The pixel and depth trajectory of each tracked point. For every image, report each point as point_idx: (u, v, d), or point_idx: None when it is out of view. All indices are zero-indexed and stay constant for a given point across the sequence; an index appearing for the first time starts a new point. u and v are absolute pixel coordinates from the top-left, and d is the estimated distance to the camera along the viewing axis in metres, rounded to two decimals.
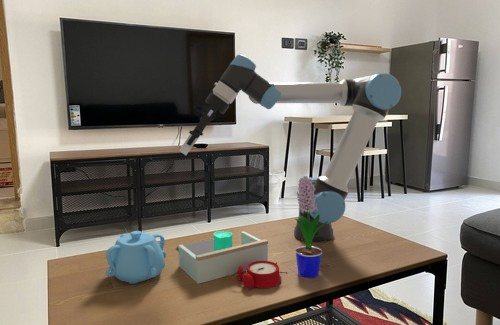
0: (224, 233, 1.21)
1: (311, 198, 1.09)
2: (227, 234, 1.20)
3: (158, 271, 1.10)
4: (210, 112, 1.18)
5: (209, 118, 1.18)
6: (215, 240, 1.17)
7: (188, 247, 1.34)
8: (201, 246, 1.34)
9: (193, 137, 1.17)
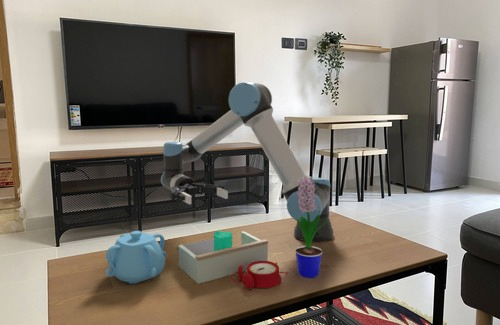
0: (224, 233, 1.21)
1: (311, 198, 1.09)
2: (227, 234, 1.20)
3: (158, 271, 1.10)
4: None
5: None
6: (215, 240, 1.17)
7: (188, 247, 1.34)
8: (201, 246, 1.34)
9: (178, 196, 1.26)
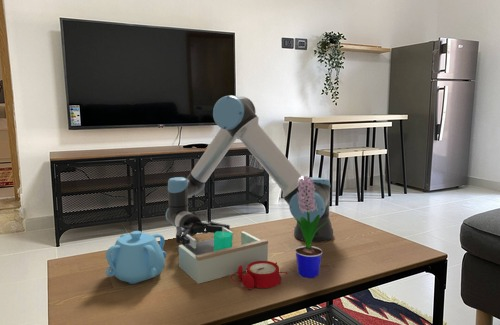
0: (224, 233, 1.21)
1: (311, 198, 1.09)
2: (227, 234, 1.20)
3: (158, 271, 1.10)
4: (176, 230, 1.33)
5: None
6: (215, 240, 1.17)
7: (188, 247, 1.34)
8: (201, 246, 1.34)
9: (183, 239, 1.24)
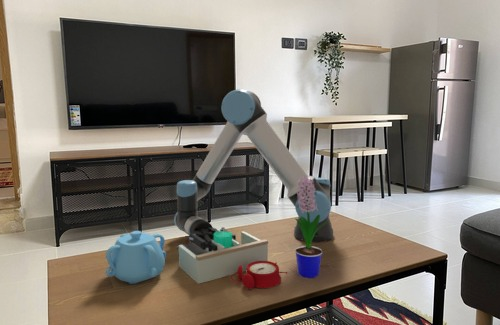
0: (224, 233, 1.21)
1: (311, 198, 1.09)
2: (227, 234, 1.20)
3: (158, 271, 1.10)
4: (190, 238, 1.25)
5: (193, 237, 1.23)
6: (215, 240, 1.17)
7: (188, 247, 1.34)
8: None
9: (209, 245, 1.18)
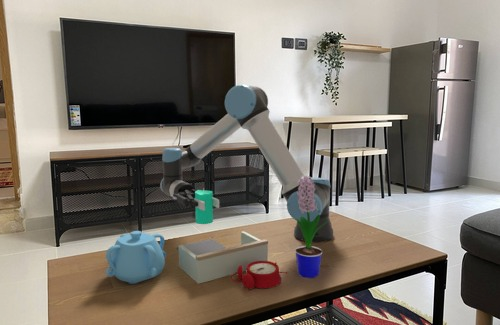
0: (205, 192, 1.30)
1: (311, 198, 1.09)
2: (208, 192, 1.29)
3: (158, 271, 1.10)
4: (174, 197, 1.34)
5: (177, 196, 1.32)
6: (196, 197, 1.26)
7: (188, 247, 1.34)
8: (201, 246, 1.34)
9: (191, 202, 1.27)
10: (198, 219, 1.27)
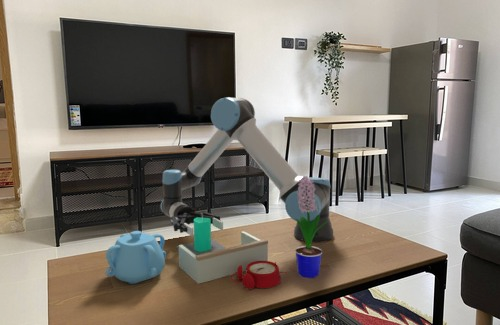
0: (203, 219, 1.33)
1: (311, 198, 1.09)
2: (206, 220, 1.32)
3: (158, 271, 1.10)
4: (171, 220, 1.38)
5: (172, 219, 1.36)
6: (195, 225, 1.30)
7: (188, 247, 1.34)
8: None
9: (180, 227, 1.29)
10: (197, 246, 1.30)
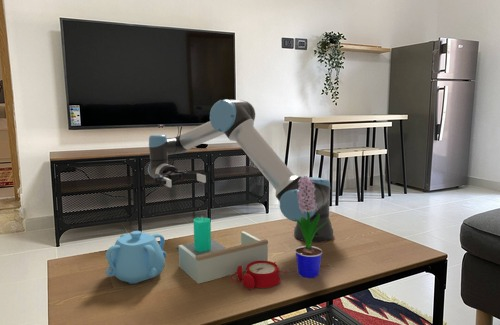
0: (203, 219, 1.33)
1: (311, 198, 1.09)
2: (206, 220, 1.32)
3: (158, 271, 1.10)
4: None
5: (156, 176, 1.46)
6: (195, 225, 1.30)
7: (188, 247, 1.34)
8: None
9: (160, 181, 1.39)
10: (197, 246, 1.30)
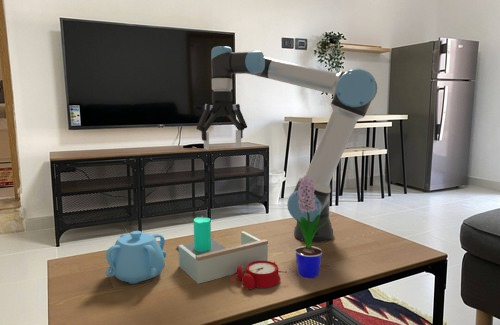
0: (203, 219, 1.33)
1: (311, 198, 1.09)
2: (206, 220, 1.32)
3: (158, 271, 1.10)
4: (205, 106, 1.35)
5: (205, 111, 1.35)
6: (195, 225, 1.30)
7: (188, 247, 1.34)
8: None
9: (202, 132, 1.36)
10: (197, 246, 1.30)
